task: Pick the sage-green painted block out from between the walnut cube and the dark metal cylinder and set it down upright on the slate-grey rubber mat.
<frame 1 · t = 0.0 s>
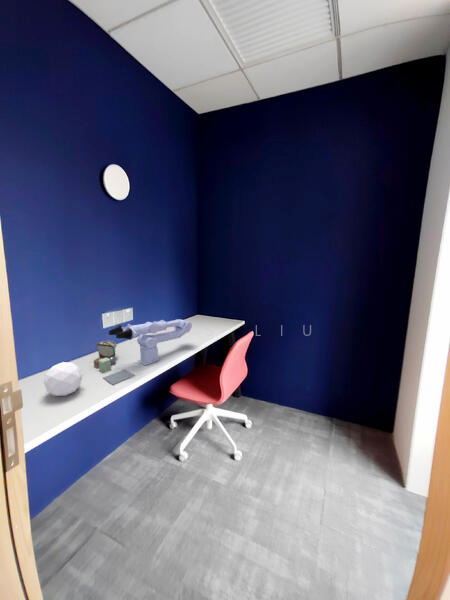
hand: (112, 334, 129), 22 cm above the table, tool horizontal, fingers open, 7 cm apart
green block: (105, 370, 137), on the table
geometric shape: (65, 393, 116), on the table
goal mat: (119, 377, 130), on the table
walnut cube: (99, 366, 141), on the table
metal cylinder: (112, 363, 145), on the table
food container: (110, 358, 152), on the table
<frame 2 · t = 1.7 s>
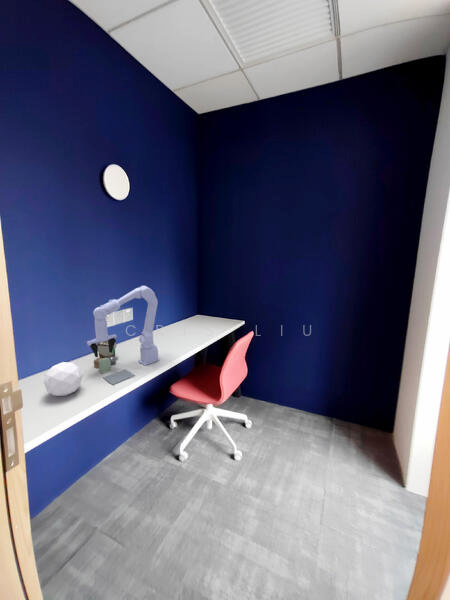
hand: (103, 354, 135), 9 cm above the table, tool pointing down, fingers open, 7 cm apart
nothing on the table moved.
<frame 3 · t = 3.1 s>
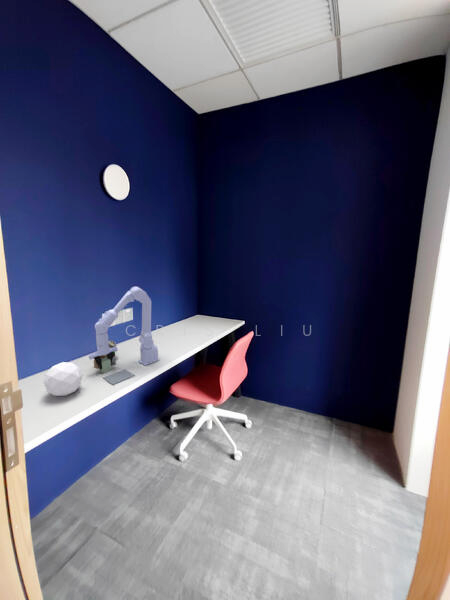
hand: (105, 367, 137), 2 cm above the table, tool pointing down, fingers closed on green block, 4 cm apart
green block: (105, 370, 137), on the table, touching gripper
everything else where it was.
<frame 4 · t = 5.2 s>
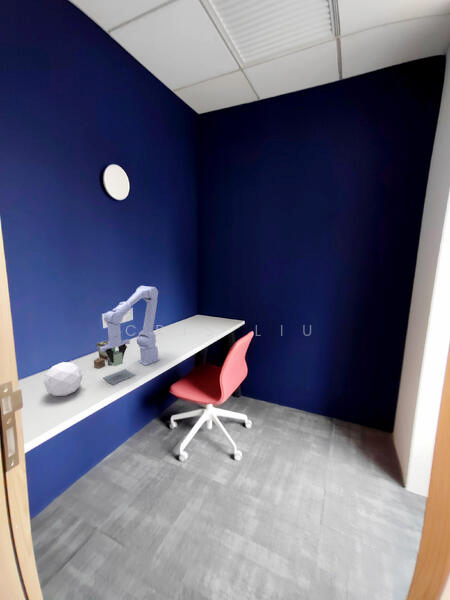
hand: (116, 360, 129), 9 cm above the table, tool pointing down, fingers closed on green block, 4 cm apart
green block: (116, 363, 129), point 7 cm above the table, touching gripper
everything else where it was.
when the fingers open (3 cm above the table, at t = 7.2 s): green block drops 1 cm, resting on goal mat.
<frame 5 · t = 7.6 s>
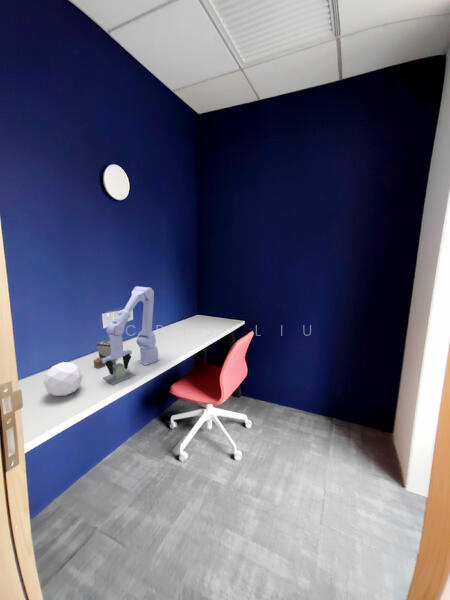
hand: (118, 371, 129), 3 cm above the table, tool pointing down, fingers open, 7 cm apart
green block: (118, 376, 130), resting on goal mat
everything else where it was.
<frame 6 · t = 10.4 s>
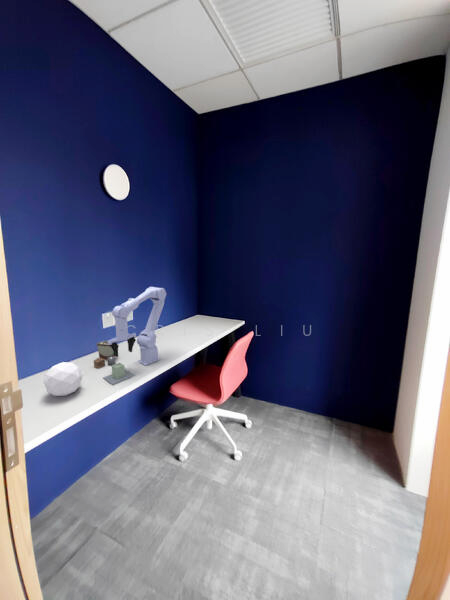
hand: (123, 353, 133), 10 cm above the table, tool pointing down, fingers open, 7 cm apart
nothing on the table moved.
at the end: green block inside the target area on the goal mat (0.3 cm from its centre), point 0.5 cm above the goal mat's base; green block tilted 0°; the gripper is holding nothing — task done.
